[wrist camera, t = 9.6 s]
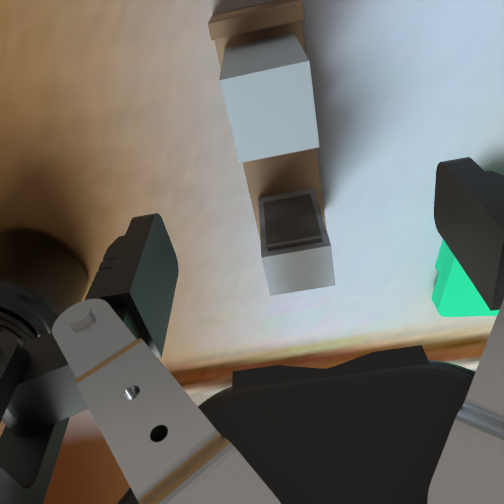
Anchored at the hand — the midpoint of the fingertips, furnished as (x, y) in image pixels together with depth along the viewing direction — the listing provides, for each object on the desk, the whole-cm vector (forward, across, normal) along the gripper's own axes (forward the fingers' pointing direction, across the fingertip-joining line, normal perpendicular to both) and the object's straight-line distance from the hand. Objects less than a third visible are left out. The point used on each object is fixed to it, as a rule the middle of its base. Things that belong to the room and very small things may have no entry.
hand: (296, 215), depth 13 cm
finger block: (+16, 0, 0) cm, 16 cm away
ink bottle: (+18, +22, +12) cm, 31 cm away
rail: (+18, 0, +4) cm, 18 cm away
